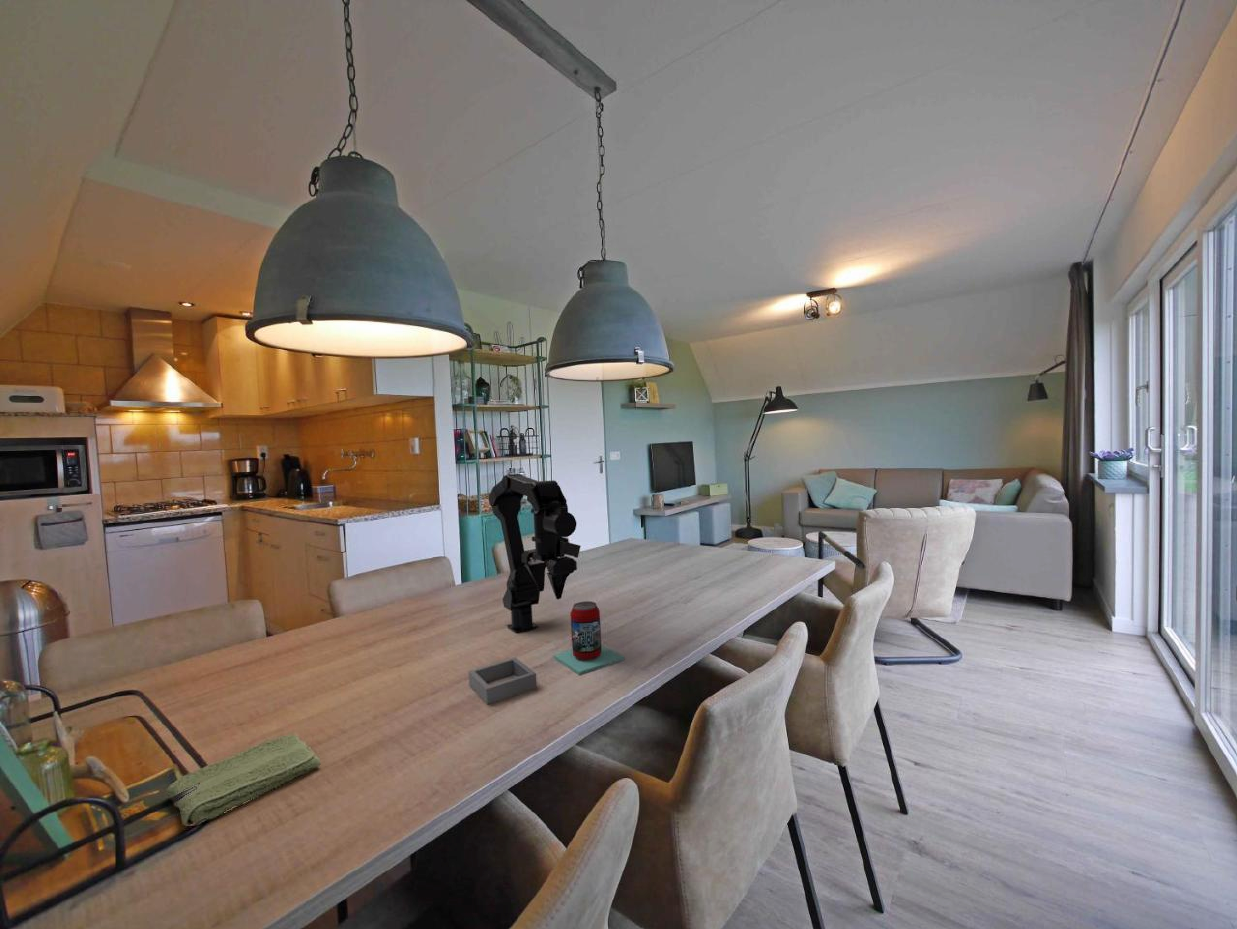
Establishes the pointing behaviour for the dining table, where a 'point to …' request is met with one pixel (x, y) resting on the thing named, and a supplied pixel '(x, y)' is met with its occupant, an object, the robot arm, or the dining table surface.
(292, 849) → the dining table surface
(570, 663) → the teal mat
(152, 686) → the dining table surface
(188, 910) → the dining table surface
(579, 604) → the beverage can
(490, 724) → the dining table surface
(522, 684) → the can holder
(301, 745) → the washcloth
